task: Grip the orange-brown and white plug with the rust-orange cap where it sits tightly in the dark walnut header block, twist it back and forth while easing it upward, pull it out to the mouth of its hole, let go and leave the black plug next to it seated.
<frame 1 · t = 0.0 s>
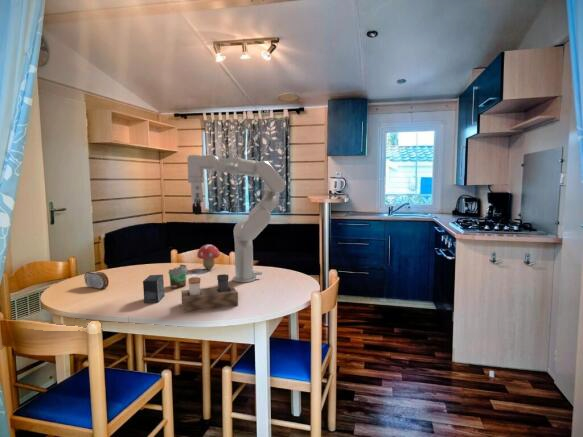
hand: (197, 213, 185), 37 cm above the table, tool pointing down, fingers open, 9 cm apart
butter knife: (264, 291, 176), on the table
black plug: (223, 289, 158), point 6 cm above the table, slide at 0.0 cm
small box: (154, 300, 164), on the table
header block: (209, 305, 156), on the table
decorative mushroom: (209, 269, 223), on the table
orange-brown and white plug: (194, 292, 153), point 6 cm above the table, slide at 0.0 cm
food container: (181, 286, 185), on the table
tin: (96, 288, 184), on the table
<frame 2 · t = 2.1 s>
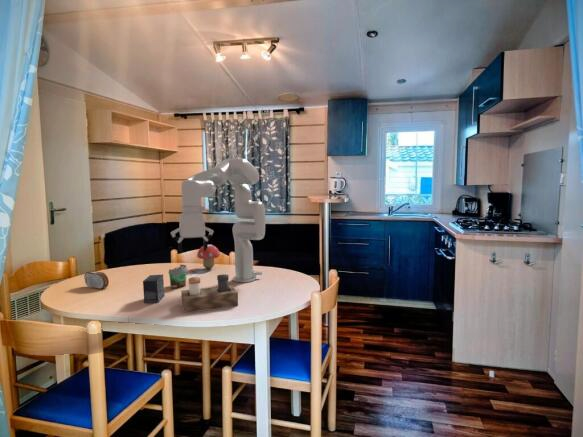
hand: (193, 251, 151), 24 cm above the table, tool pointing down, fingers open, 9 cm apart
nothing on the table moved.
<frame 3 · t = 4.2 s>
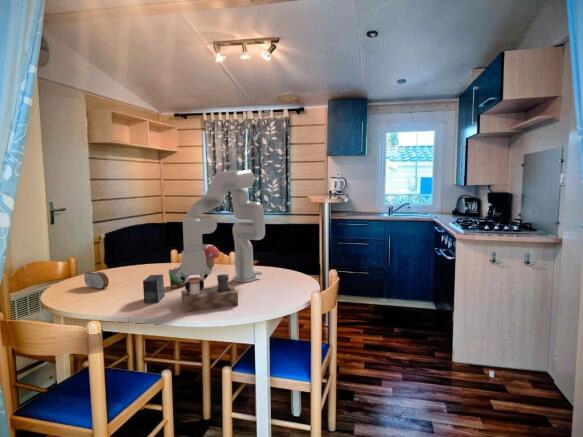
hand: (194, 290, 153), 7 cm above the table, tool pointing down, fingers closed on orange-brown and white plug, 4 cm apart
orange-brown and white plug: (194, 292, 153), point 6 cm above the table, slide at 0.0 cm, touching gripper
everything else where it was.
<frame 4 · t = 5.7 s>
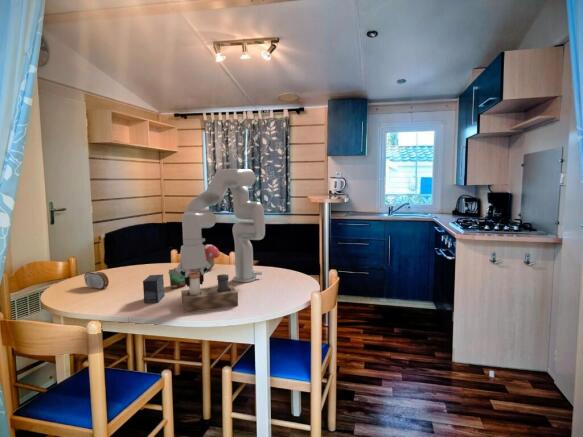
hand: (194, 284, 153), 10 cm above the table, tool pointing down, fingers closed on orange-brown and white plug, 4 cm apart
orange-brown and white plug: (194, 287, 153), point 8 cm above the table, slide at 2.2 cm, touching gripper
everything else where it was.
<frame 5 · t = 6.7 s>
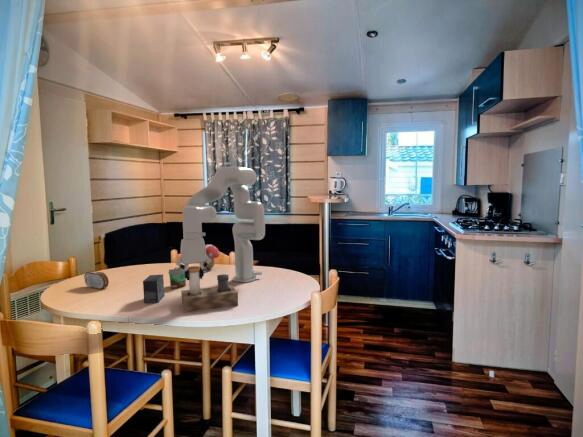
hand: (194, 278, 153), 12 cm above the table, tool pointing down, fingers closed on orange-brown and white plug, 4 cm apart
orange-brown and white plug: (194, 281, 153), point 11 cm above the table, slide at 4.8 cm, touching gripper
everything else where it was.
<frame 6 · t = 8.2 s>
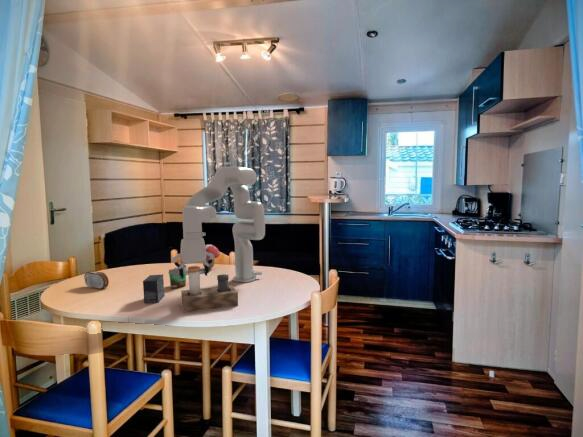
hand: (194, 276, 153), 13 cm above the table, tool pointing down, fingers open, 9 cm apart
orange-brown and white plug: (194, 281, 153), point 11 cm above the table, slide at 4.8 cm
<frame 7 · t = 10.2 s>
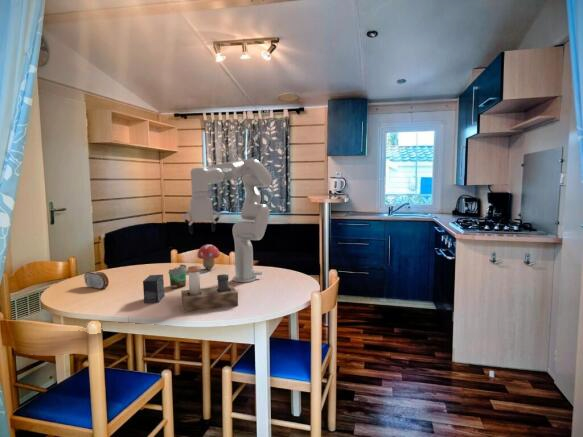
hand: (202, 232, 167), 30 cm above the table, tool pointing down, fingers open, 9 cm apart
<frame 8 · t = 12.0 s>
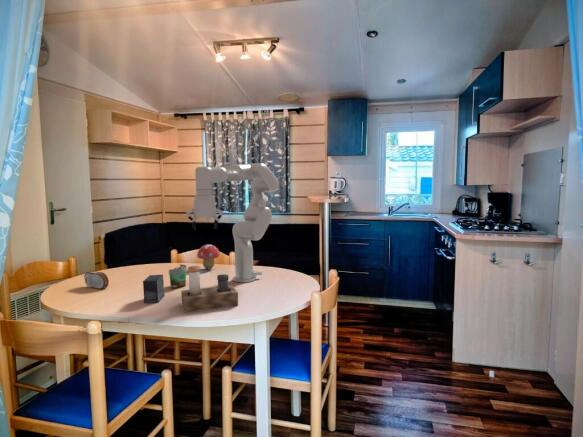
hand: (205, 229, 172), 30 cm above the table, tool pointing down, fingers open, 9 cm apart
at the end: orange-brown and white plug slide at 4.8 cm; black plug slide at 0.0 cm; the gripper is holding nothing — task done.
